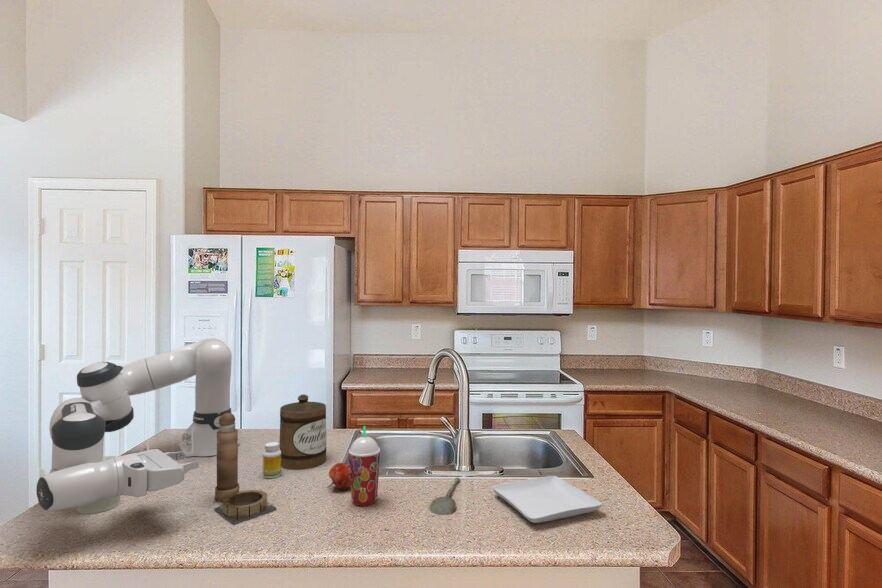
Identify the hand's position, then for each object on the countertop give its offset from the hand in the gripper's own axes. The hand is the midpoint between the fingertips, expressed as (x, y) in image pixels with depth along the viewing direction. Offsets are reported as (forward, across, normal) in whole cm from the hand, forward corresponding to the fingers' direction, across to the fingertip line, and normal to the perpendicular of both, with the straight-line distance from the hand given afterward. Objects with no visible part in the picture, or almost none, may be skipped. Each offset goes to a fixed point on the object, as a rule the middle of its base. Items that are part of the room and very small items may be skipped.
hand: (190, 459), depth 123 cm
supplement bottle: (+25, -6, -13) cm, 29 cm away
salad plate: (+64, +65, -13) cm, 92 cm away
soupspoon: (+51, +43, -14) cm, 68 cm away
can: (-16, -19, -13) cm, 28 cm away
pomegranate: (+34, +17, -13) cm, 41 cm away
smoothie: (+33, +29, -13) cm, 46 cm away
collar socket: (+9, +11, -13) cm, 19 cm away
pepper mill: (+9, 0, -13) cm, 16 cm away
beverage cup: (-4, -22, -13) cm, 26 cm away
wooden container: (+38, -10, -13) cm, 42 cm away
